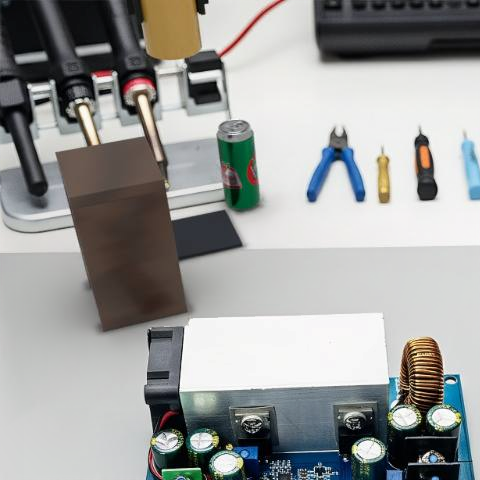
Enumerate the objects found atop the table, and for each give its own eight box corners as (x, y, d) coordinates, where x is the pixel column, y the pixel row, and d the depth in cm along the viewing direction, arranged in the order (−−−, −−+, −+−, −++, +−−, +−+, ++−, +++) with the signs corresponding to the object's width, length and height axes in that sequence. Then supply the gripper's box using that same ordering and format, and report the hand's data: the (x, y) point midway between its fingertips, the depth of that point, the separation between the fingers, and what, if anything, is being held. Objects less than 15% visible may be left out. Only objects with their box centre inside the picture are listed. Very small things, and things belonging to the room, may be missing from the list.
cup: (153, 64, 115) (139, -15, 109) (140, 41, 119) (126, -36, 113) (208, 54, 117) (198, -24, 111) (193, 32, 121) (183, -44, 115)
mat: (177, 260, 132) (176, 257, 132) (162, 225, 138) (161, 222, 138) (242, 246, 135) (242, 243, 134) (225, 212, 141) (225, 209, 140)
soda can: (218, 202, 143) (207, 125, 134) (246, 189, 145) (238, 113, 137) (239, 216, 140) (229, 139, 132) (267, 203, 142) (260, 127, 134)
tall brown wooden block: (103, 331, 121) (68, 197, 108) (88, 283, 128) (54, 152, 115) (187, 311, 124) (164, 179, 111) (169, 265, 131) (144, 135, 118)
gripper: (214, -173, 108) (233, -7, 120) (51, -157, 103) (88, 14, 115) (233, -154, 103) (250, 16, 115) (62, -136, 98) (99, 40, 110)
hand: (168, 14), depth 115 cm, fingers closed on cup, 6 cm apart
